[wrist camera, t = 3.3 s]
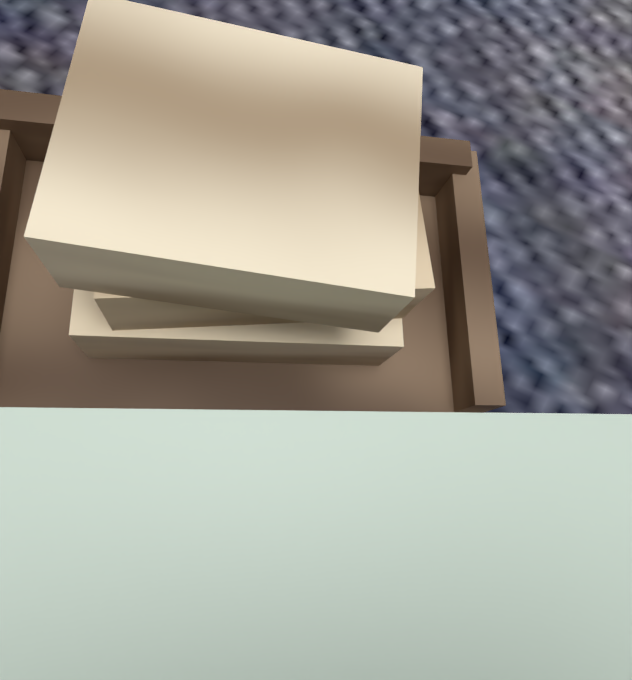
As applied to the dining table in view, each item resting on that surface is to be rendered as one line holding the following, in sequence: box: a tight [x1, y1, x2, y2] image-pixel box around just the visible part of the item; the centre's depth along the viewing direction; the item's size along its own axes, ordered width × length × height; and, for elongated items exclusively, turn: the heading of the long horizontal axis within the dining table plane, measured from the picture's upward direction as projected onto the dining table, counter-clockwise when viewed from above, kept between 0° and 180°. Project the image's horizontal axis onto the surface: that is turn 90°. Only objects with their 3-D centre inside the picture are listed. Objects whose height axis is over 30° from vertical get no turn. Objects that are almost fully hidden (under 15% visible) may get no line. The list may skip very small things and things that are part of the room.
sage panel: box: [0, 407, 632, 680], centre depth 10 cm, size 2×7×13 cm, turn 91°
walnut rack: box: [0, 89, 506, 413], centre depth 15 cm, size 18×16×4 cm
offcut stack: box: [24, 0, 435, 366], centre depth 14 cm, size 7×9×7 cm
